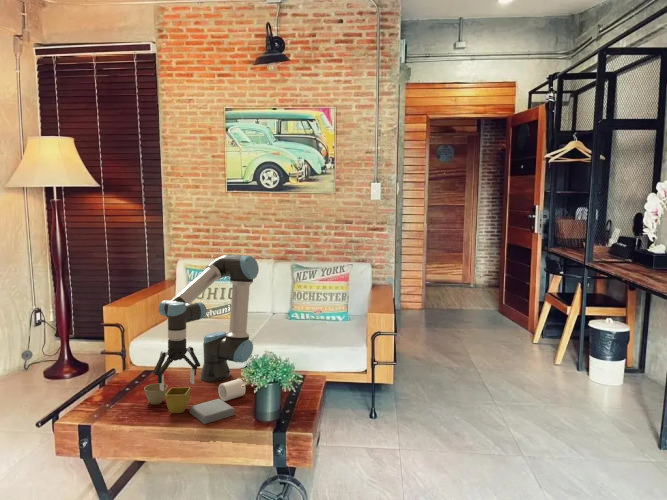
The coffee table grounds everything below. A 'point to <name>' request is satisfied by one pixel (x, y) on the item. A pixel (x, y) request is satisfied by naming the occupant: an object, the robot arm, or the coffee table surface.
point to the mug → (231, 389)
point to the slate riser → (212, 411)
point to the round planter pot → (155, 393)
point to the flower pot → (177, 399)
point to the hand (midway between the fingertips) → (177, 386)
